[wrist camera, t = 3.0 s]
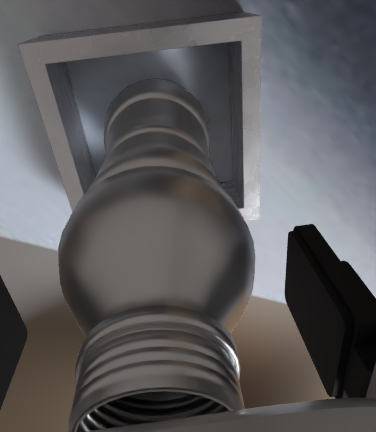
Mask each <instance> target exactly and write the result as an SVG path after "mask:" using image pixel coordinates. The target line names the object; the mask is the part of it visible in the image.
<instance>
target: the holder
mask: <svg viewBox="0 0 376 432" xmlns="http://www.w3.org/2000/svg"><path fill="white" fill-rule="evenodd" d="M225 42H228V43H229V73H230V103H231V133H232V163H233V181H229V182H221V185H222V186H223V188H224V189H225V191H226V192H227V193H228V195H229V196H230V198H231V199H232V200H233V202H234V203H235V205H236V206H237V208H238V209H239V211H240V212H241V214H242V216H243V218H244V220H245V221H247V220H255V219H259V183H260V98H261V15H256V14H252V13H247V12H240V13H232V14H223V15H215V16H206V17H198V18H190V19H181V20H173V21H164V22H156V23H148V24H139V25H131V26H122V27H114V28H105V29H97V30H89V31H80V32H72V33H63V34H55V35H46V36H40V37H37V38H34V39H32V40H29V41H26V42H23V43H21V44H18V46H19V49H20V53H21V56H22V59H23V62H24V65H25V68H26V71H27V74H28V77H29V80H30V83H31V86H32V89H33V92H34V95H35V99H36V102H37V105H38V108H39V111H40V114H41V117H42V120H43V123H44V126H45V129H46V132H47V135H48V138H49V141H50V144H51V148H52V151H53V154H54V157H55V160H56V163H57V166H58V169H59V172H60V175H61V178H62V181H63V184H64V187H65V190H66V194H67V197H68V200H69V203H70V206H71V209H72V212H73V211H74V209H75V207H76V205H77V203H78V202H79V201H80V199H81V198H82V196H83V195H84V194H85V192H86V191H87V189H88V188H89V186H90V185H91V184H92V182H93V181H94V179H95V178H96V175H95V172H94V168H93V164H92V160H91V157H90V153H89V149H88V146H87V142H86V138H85V134H84V131H83V127H82V123H81V119H80V116H79V112H78V108H77V104H76V101H75V97H74V93H73V89H72V86H71V82H70V78H69V74H68V71H67V67H66V63H65V62H66V61H74V60H82V59H91V58H99V57H108V56H116V55H124V54H133V53H141V52H149V51H158V50H166V49H175V48H183V47H191V46H200V45H208V44H216V43H225Z"/></svg>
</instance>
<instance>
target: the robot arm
mask: <svg viewBox="0 0 376 432" xmlns="http://www.w3.org/2000/svg"><path fill="white" fill-rule="evenodd" d="M285 299H286V302H287V305H288V307H289V309H290V312H291V314H292V316H293V318H294V320H295V323H296V325H297V327H298V329H299V332H300V334H301V336H302V338H303V341H304V343H305V345H306V347H307V350H308V352H309V354H310V356H311V359H312V361H313V363H314V365H315V367H316V370H317V372H318V374H319V376H320V379H321V381H322V383H323V385H324V388H325V390H326V392H327V394H328V395H329V396H330V397H335V398H336V399H326V400H315V401H307V402H299V403H291V404H282V405H274V406H266V407H258V408H252V409H244V410H237V411H229V412H222V413H215V414H208V415H200V416H193V417H186V418H179V419H172V420H165V421H158V422H151V423H144V424H136V425H129V426H123V427H116V428H109V429H102V430H95V431H88V432H376V298H375V297H374V296H373V294H372V293H371V292H370V290H369V289H368V288H367V286H366V285H365V284H364V282H363V281H362V280H361V278H360V277H359V276H358V274H357V273H356V272H355V271H354V269H353V268H352V267H351V265H350V264H349V263H348V262H346V261H340V260H339V258H338V257H337V256H336V254H335V253H334V252H333V250H332V249H331V247H330V246H329V245H328V243H327V242H326V241H325V239H324V238H323V236H322V235H321V234H320V232H319V231H318V230H317V228H316V227H315V226H314V225H313V224H309V225H302V226H295V227H294V230H293V231H291V232H289V233H288V246H287V263H286V280H285ZM26 340H27V329H26V326H25V324H24V322H23V320H22V318H21V316H20V314H19V312H18V310H17V308H16V306H15V304H14V302H13V300H12V298H11V296H10V294H9V292H8V290H7V288H6V286H5V284H4V282H3V280H2V278H1V276H0V409H1V406H2V404H3V401H4V398H5V396H6V393H7V390H8V388H9V385H10V382H11V380H12V377H13V374H14V372H15V369H16V366H17V364H18V361H19V358H20V356H21V353H22V350H23V348H24V345H25V342H26Z"/></svg>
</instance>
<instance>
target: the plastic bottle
mask: <svg viewBox="0 0 376 432" xmlns="http://www.w3.org/2000/svg"><path fill="white" fill-rule="evenodd" d="M104 145H105V159H104V161H103V164H102V166H101V168H100V171H99V173H98V175H97V177H96V178H95V179H94V181H93V182H92V184H91V185H90V186H89V188H88V189H87V191H86V192H85V194H84V195H83V196H82V198H81V199H80V201H79V202H78V203H77V205H76V207H75V209H74V211H73V212H72V214H71V216H70V218H69V220H68V222H67V224H66V226H65V228H64V230H63V232H62V235H61V239H60V243H59V247H58V257H59V275H60V285H61V288H62V292H63V296H64V299H65V301H66V303H67V304H68V306H69V308H70V310H71V312H72V314H73V316H74V318H75V320H76V321H77V323H78V325H79V327H80V329H81V331H82V332H83V333H84V334H85V336H86V338H85V339H84V340H83V343H82V345H81V348H80V351H79V355H78V360H77V364H76V376H75V378H76V382H77V386H76V391H75V395H74V400H73V404H72V409H71V413H70V418H69V432H88V431H95V430H102V429H109V428H116V427H123V426H129V425H136V424H144V423H151V422H158V421H165V420H172V419H179V418H186V417H193V416H200V415H208V414H215V413H222V412H229V411H237V410H244V409H245V407H244V403H243V398H242V393H241V389H240V384H239V376H240V364H239V358H238V354H237V349H236V345H235V342H234V340H233V338H232V336H231V333H232V331H233V329H234V328H235V327H236V325H237V323H238V322H239V320H240V318H241V316H242V314H243V312H244V309H245V308H246V305H247V304H248V301H249V298H250V296H251V293H252V290H253V283H254V273H255V250H254V242H253V239H252V236H251V234H250V231H249V228H248V226H247V224H246V222H245V220H244V218H243V216H242V214H241V212H240V211H239V209H238V208H237V206H236V205H235V203H234V202H233V200H232V199H231V198H230V196H229V195H228V193H227V192H226V191H225V189H224V188H223V186H222V185H221V183H220V182H219V180H218V179H217V177H216V175H215V172H214V170H213V168H212V165H211V164H210V158H209V151H210V129H209V124H208V120H207V117H206V114H205V112H204V110H203V108H202V107H201V105H200V103H199V102H198V101H197V100H196V99H195V98H194V96H193V95H192V94H191V93H189V92H188V91H186V90H185V89H184V88H182V87H181V86H179V85H177V84H175V83H172V82H170V81H166V80H162V79H148V80H143V81H139V82H137V83H135V84H133V85H131V86H129V87H127V88H126V89H125V90H123V91H122V92H121V93H119V95H118V96H117V97H116V98H115V99H114V100H113V102H112V103H111V105H110V107H109V109H108V111H107V114H106V118H105V122H104Z"/></svg>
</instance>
